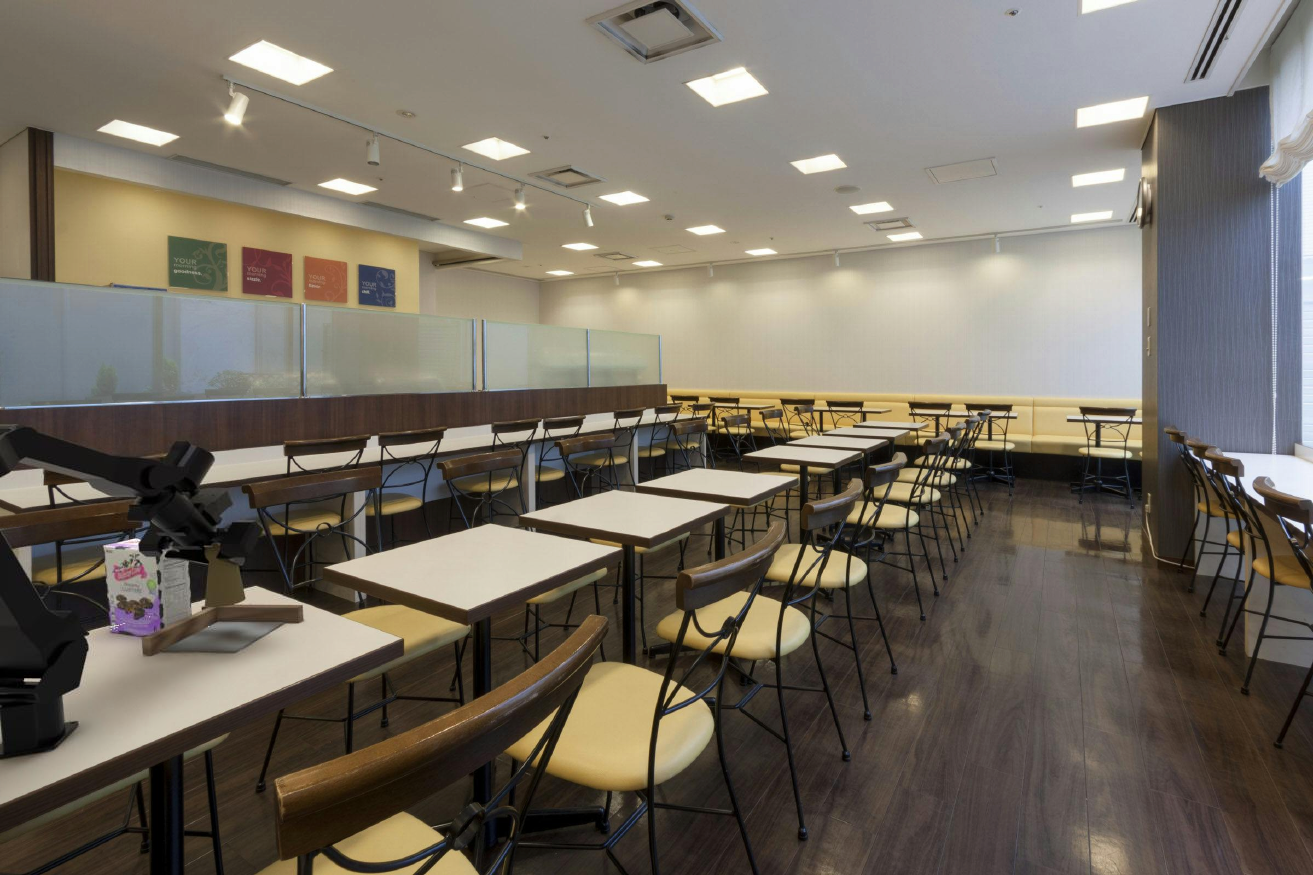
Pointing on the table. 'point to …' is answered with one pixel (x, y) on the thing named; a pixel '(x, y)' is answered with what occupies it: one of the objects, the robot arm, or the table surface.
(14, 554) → the robot arm
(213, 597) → the cork
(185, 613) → the candy box
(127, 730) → the table surface
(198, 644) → the wood edged grey tray
